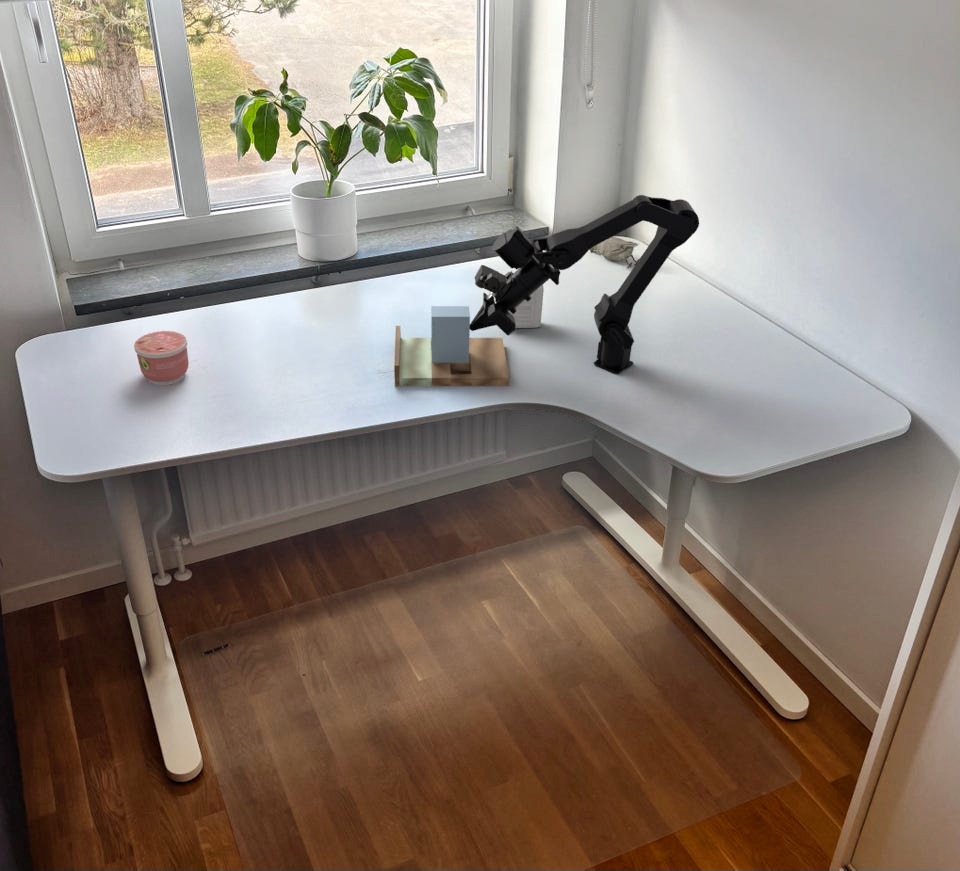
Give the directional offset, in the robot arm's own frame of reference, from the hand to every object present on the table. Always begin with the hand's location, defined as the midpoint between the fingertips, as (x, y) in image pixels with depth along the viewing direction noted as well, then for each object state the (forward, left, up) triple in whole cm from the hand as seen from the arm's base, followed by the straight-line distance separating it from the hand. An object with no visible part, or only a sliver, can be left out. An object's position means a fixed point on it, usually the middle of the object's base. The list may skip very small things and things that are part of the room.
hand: (470, 328), depth 203 cm
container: (+42, +48, -9) cm, 65 cm away
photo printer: (+4, -23, -9) cm, 25 cm away
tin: (+3, +3, -7) cm, 8 cm away
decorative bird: (+11, -71, -9) cm, 72 cm away
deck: (+2, +2, -9) cm, 9 cm away
